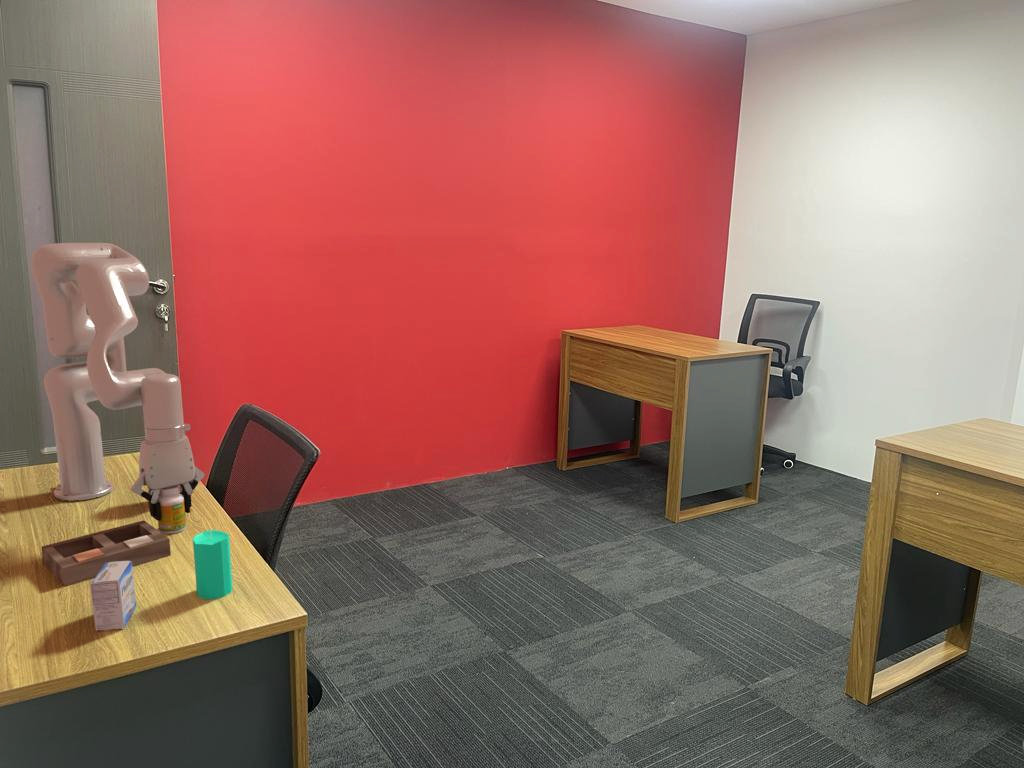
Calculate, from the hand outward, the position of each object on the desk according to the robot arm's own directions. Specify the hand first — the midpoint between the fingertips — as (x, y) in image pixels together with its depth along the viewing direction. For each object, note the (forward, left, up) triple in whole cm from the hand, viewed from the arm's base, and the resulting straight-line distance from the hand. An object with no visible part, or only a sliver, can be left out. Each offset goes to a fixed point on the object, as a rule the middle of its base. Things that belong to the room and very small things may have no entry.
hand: (171, 514), depth 164 cm
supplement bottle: (0, 0, -4) cm, 4 cm away
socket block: (+6, -15, -3) cm, 17 cm away
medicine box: (+31, -22, -4) cm, 38 cm away
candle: (+33, -6, -4) cm, 34 cm away
